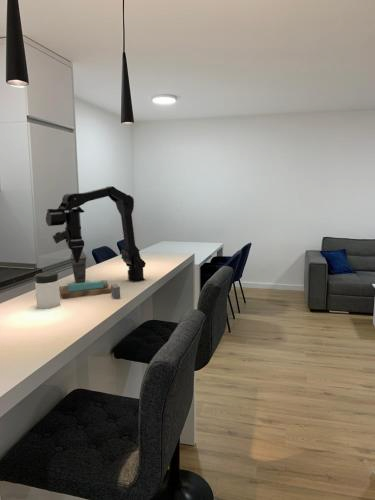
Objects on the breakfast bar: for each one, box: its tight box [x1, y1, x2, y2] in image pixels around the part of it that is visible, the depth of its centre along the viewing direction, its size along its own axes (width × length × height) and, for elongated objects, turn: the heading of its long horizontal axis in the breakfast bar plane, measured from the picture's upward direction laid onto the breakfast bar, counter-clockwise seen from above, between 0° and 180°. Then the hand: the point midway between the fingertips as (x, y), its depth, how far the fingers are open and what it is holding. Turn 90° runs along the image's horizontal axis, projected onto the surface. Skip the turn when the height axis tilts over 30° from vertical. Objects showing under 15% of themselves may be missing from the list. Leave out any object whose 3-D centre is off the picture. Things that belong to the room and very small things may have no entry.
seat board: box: [59, 283, 111, 300], centre depth 169 cm, size 20×14×2 cm
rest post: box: [110, 283, 121, 300], centre depth 159 cm, size 2×6×4 cm, turn 21°
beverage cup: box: [70, 250, 87, 284], centre depth 185 cm, size 7×7×20 cm
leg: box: [67, 279, 109, 292], centre depth 165 cm, size 16×3×2 cm, turn 111°
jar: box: [34, 271, 61, 309], centre depth 150 cm, size 9×8×12 cm
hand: (75, 261), depth 168 cm, fingers open, 8 cm apart
